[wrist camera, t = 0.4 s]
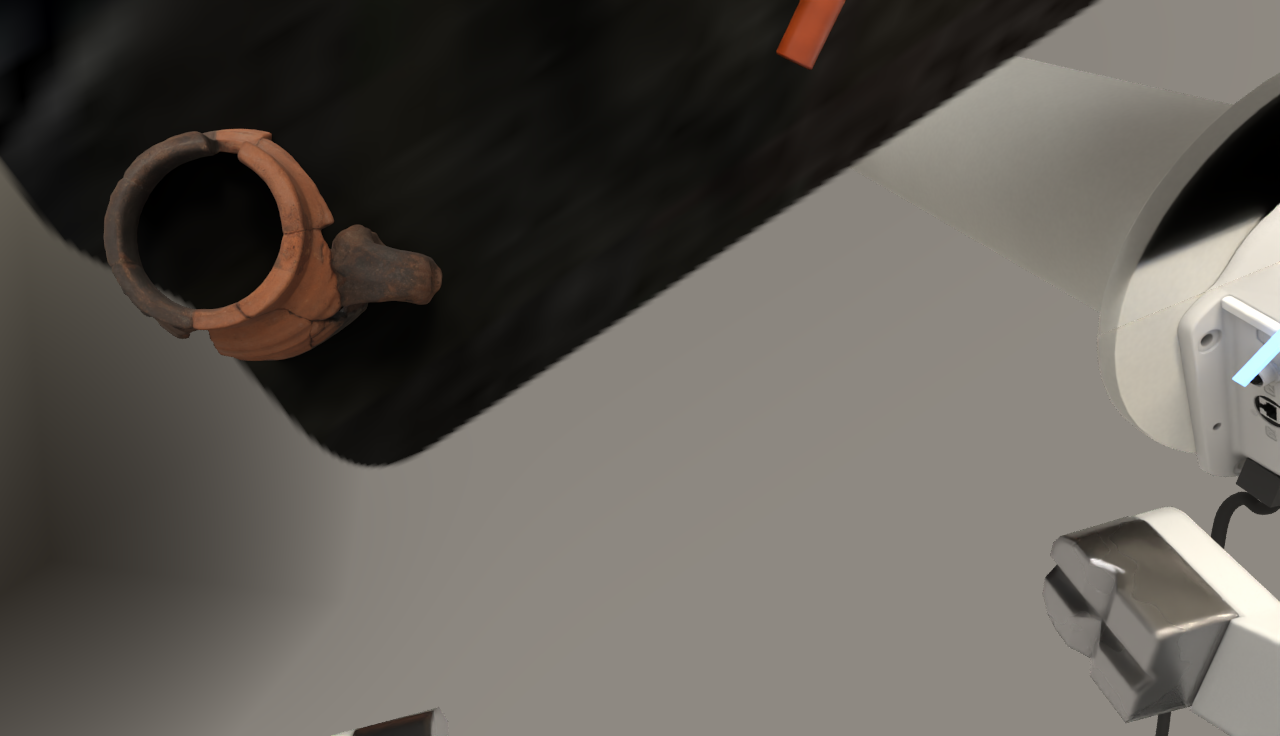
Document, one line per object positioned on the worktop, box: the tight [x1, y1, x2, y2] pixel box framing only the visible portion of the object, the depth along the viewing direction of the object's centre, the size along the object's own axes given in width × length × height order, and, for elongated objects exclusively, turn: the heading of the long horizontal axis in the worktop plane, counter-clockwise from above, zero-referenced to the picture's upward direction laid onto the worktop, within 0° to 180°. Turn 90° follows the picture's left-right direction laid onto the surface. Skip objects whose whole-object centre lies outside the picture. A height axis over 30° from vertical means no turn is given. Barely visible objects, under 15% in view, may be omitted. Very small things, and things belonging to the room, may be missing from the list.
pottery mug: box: [104, 129, 442, 361], centre depth 32 cm, size 12×10×8 cm
